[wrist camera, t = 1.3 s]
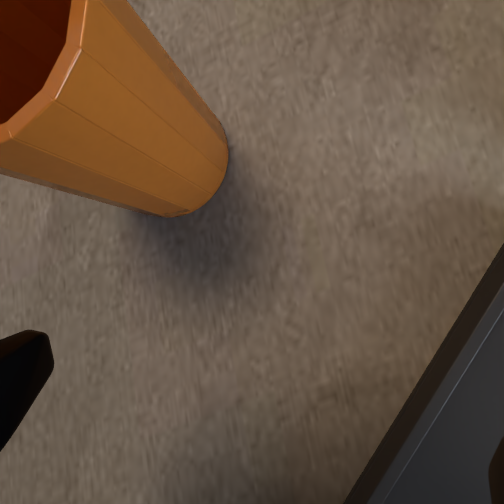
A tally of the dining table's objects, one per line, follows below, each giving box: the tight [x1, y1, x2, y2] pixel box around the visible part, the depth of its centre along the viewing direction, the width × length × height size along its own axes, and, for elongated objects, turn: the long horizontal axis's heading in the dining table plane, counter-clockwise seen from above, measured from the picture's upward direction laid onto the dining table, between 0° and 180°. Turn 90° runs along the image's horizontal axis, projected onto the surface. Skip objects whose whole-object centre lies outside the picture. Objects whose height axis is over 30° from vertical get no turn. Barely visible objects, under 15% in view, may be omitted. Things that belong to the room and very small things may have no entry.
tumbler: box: [0, 0, 228, 218], centre depth 16 cm, size 7×7×13 cm
